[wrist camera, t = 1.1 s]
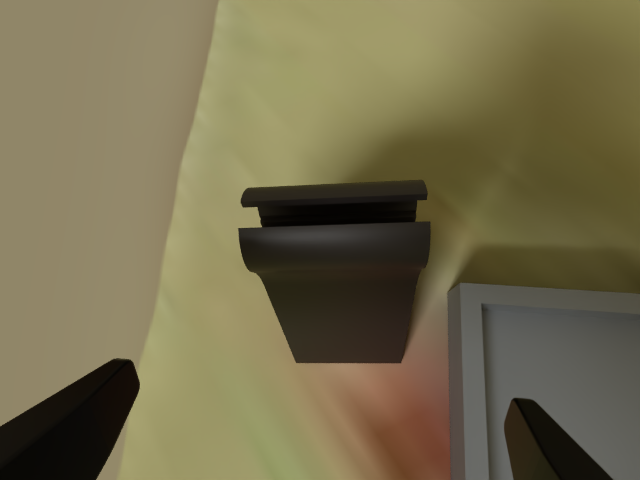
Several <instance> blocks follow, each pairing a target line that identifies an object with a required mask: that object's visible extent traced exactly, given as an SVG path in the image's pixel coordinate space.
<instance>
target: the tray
mask: <svg viewBox="0 0 640 480" xmlns="http://www.w3.org/2000/svg"><path fill="white" fill-rule="evenodd" d="M448 344H449V401H450V459H451V480H513V475H512V470H511V465H510V459H509V454H508V449H507V444H506V439H505V434H504V421H505V418H506V415H507V411H508V408H509V405H510V402H511V400H512V399H513V398H516V397H517V398H527V399H532V400H534V401H535V402H537V403H538V404H539V405H540V406H541V407H542V408H543V409H544V410H545V411H546V412H547V413H548V414H549V415H550V416H551V417H552V418H553V419H554V420H555V421H556V422H557V423H558V424H559V425H560V426H561V427H562V428H563V429H564V430H565V431H566V432H567V433H568V434H569V435H570V436H571V437H572V438H573V439H574V440H575V441H576V442H577V443H578V444H579V445H580V446H581V447H582V448H583V449H584V450H585V451H586V452H587V453H588V454H589V455H590V456H591V457H592V458H593V459H594V460H595V461H596V462H597V463H598V464H599V465H600V466H601V467H602V468H603V469H604V470H605V471H606V472H607V473H608V474H609V475H610V476H611V477H612V478H613V479H614V480H640V294H637V293H621V292H604V291H588V290H572V289H556V288H540V287H524V286H507V285H491V284H475V283H459V284H458V285H457V286H455V287H454V288H453V289H452V290H451V291H449V292H448Z"/></svg>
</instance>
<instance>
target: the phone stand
mask: <svg viewBox="0 0 640 480" xmlns="http://www.w3.org/2000/svg"><path fill="white" fill-rule="evenodd" d="M427 194H428V193H427V189H426V185H425V183H424V181H423V180H408V181H386V182H364V183H343V184H321V185H299V186H278V187H256V188H247V189H246V190H245V191H244V193H243V195H242V198H241V204H242V207H258V211H259V216H260V218H261V221H260V223H261V225H262V227H261V228H238V229H239V242H240V248H241V253H242V257H243V260H244V263H245V265H246V267H247V269H248V270H249V271H250V272H254V273H256V274H257V275H258V276H259V277H260V278H261V280H262V282H263V284H264V286H265V289H266V291H267V294H268V296H269V298H270V301H271V303H272V306H273V308H274V310H275V313H276V315H277V318H278V320H279V323H280V325H281V327H282V330H283V332H284V335H285V337H286V339H287V342H288V344H289V347H290V349H291V352H292V354H293V356H294V359H295V361H296V363H401V361H402V356H403V351H404V346H405V341H406V336H407V331H408V326H409V321H410V316H411V311H412V305H413V300H414V295H415V290H416V285H417V280H418V276H419V273H420V271H421V270H422V269H423V268H425V267H426V265H427V262H428V257H429V250H430V222H415V220H416V207H417V200H427Z"/></svg>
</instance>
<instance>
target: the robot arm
mask: <svg viewBox="0 0 640 480" xmlns="http://www.w3.org/2000/svg"><path fill="white" fill-rule="evenodd" d="M139 388H140V382H139V379H138V376H137V372H136V369H135V366H134V363H133V362H132V361H131V360H129V359H120V358H116V359H113V360H111V361H109V362H108V363H106V364H104V365H102V366H101V367H99V368H97V369H96V370H94V371H92V372H91V373H89V374H87V375H86V376H84V377H82V378H81V379H79V380H77V381H76V382H74V383H72V384H71V385H69V386H67V387H66V388H64V389H62V390H61V391H59V392H57V393H56V394H54V395H52V396H51V397H49V398H47V399H45V400H44V401H42V402H41V403H39V404H37V405H35V406H34V407H32V408H30V409H29V410H27V411H25V412H24V413H22V414H20V415H19V416H17V417H15V418H14V419H12V420H10V421H9V422H7V423H5V424H4V425H2V426H0V480H96V479H97V477H98V475H99V474H100V472H101V470H102V468H103V466H104V465H105V463H106V461H107V459H108V457H109V456H110V454H111V452H112V450H113V448H114V445H115V443H116V441H117V439H118V437H119V435H120V432H121V430H122V428H123V426H124V423H125V421H126V419H127V417H128V415H129V412H130V410H131V408H132V406H133V403H134V401H135V399H136V397H137V395H138V392H139ZM504 434H505V439H506V444H507V449H508V454H509V459H510V465H511V470H512V475H513V480H614V479H613V478H612V477H611V476H610V475H609V474H608V473H607V472H606V471H605V470H604V469H603V468H602V467H601V466H600V465H599V464H598V463H597V462H596V461H595V460H594V459H593V458H592V457H591V456H590V455H589V454H588V453H587V452H586V451H585V450H584V449H583V448H582V447H581V446H580V445H579V444H578V443H577V442H576V441H575V440H574V439H573V438H572V437H571V436H570V435H569V434H568V433H567V432H566V431H565V430H564V429H563V428H562V427H561V426H560V425H559V424H558V423H557V422H556V421H555V420H554V419H553V418H552V417H551V416H550V415H549V414H548V413H547V412H546V411H545V410H544V409H543V408H542V407H541V406H540V405H539V404H538V403H537V402H535V401H534V400H532V399H527V398H517V397H516V398H513V399H512V400H511V402H510V405H509V408H508V411H507V415H506V418H505V421H504Z"/></svg>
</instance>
